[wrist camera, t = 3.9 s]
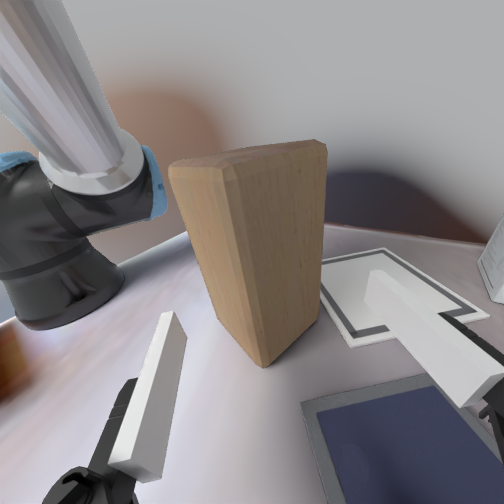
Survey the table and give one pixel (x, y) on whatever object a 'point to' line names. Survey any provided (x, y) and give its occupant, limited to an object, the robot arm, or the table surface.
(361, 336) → the mat
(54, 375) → the table surface
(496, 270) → the supplement box
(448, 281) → the table surface
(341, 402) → the ink pad
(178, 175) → the wooden block
